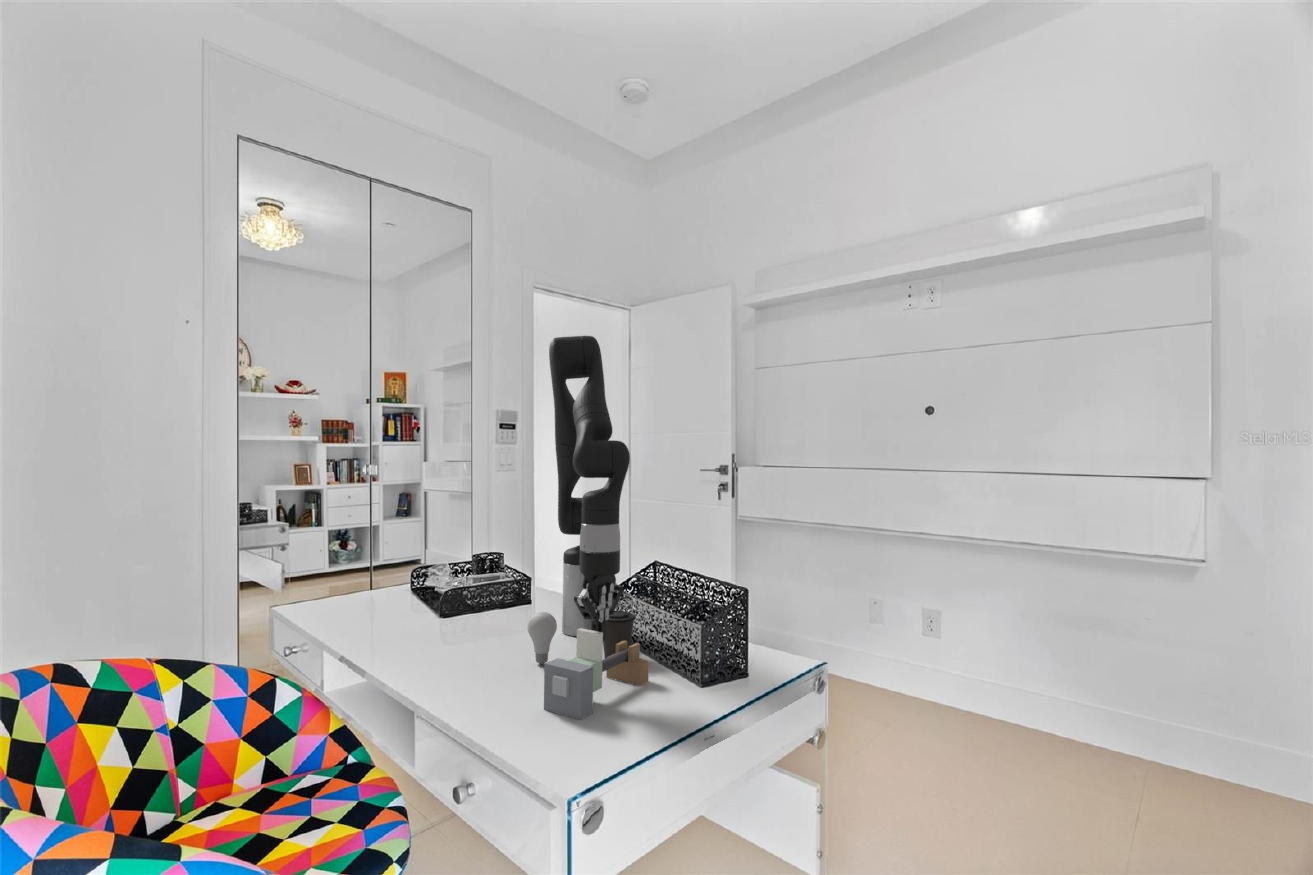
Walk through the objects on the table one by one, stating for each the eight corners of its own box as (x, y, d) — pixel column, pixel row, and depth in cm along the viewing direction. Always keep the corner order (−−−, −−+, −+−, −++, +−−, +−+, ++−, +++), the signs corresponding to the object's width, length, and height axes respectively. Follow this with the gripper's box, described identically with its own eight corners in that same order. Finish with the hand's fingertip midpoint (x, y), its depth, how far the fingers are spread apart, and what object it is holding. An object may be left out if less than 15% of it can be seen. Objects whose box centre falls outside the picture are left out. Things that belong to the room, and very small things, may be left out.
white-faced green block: (580, 682, 122) (580, 628, 123) (602, 687, 120) (602, 632, 120) (566, 689, 119) (567, 633, 119) (588, 694, 116) (589, 637, 117)
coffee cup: (630, 665, 140) (631, 618, 140) (593, 662, 141) (594, 615, 141) (639, 654, 147) (639, 609, 148) (604, 651, 149) (604, 606, 149)
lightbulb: (528, 670, 136) (529, 616, 136) (525, 660, 142) (526, 609, 142) (557, 668, 138) (558, 614, 138) (554, 658, 143) (555, 607, 144)
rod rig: (614, 673, 135) (615, 633, 135) (648, 680, 131) (648, 640, 131) (540, 710, 115) (541, 664, 115) (577, 721, 111) (578, 673, 111)
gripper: (604, 541, 131) (602, 629, 130) (561, 550, 119) (560, 646, 119) (636, 544, 127) (635, 635, 127) (595, 554, 116) (594, 653, 115)
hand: (598, 640), depth 123 cm, fingers closed
